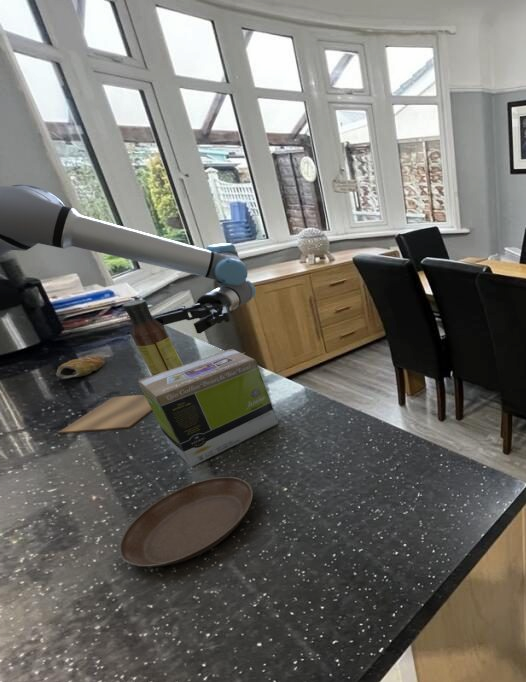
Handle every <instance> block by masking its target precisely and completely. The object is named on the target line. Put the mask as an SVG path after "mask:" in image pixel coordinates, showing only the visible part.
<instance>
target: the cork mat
mask: <svg viewBox="0 0 526 682" xmlns="http://www.w3.org/2000/svg"><path fill="white" fill-rule="evenodd" d="M152 412H153V411H152V409H151V407H150V405H149V403H148V401H147V399H146V397H145V395H144V394H135V395H123V396H121V395H120V396H112V397H111V398H109V399H108V400H106V401H105V402H102V404H100V405H98V406H96V407H95V408H94V409H92V410H91V411H89V412H87V413H86V414H84V415H83V416H81V417H80V418H78V419H76V420H75V421H73V422H72V423H70V424H69V425H67V426H65V427H64V428H63V429H61V430H59V431H58V434H70V433H71V434H72V433H85V432H98V431H111V430H113V431H114V430H123V429H130V428H132V427H133V426H134V425H136V424H137V423H138V422H140V421H141V420H143V418H145V417H147V415H149V414H150V413H152Z"/></svg>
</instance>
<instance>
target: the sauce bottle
mask: <svg viewBox="0 0 526 682" xmlns="http://www.w3.org/2000/svg"><path fill="white" fill-rule="evenodd" d="M122 308H123V310H124V311H125V312H126V313H127V315H128V317H129V319H130V322H131V327H130V331H129V332H130V336H131V338H132V339H133V341H134V343H135V346H136V348H137V350H138V352H139V353H140V356H141V357H142V359H143V361H144V363H145V364H146V367H147V369H148V371H149V372H150V374H151V375H150V376H154V375H157V374H159V373H162V372H165V371H168V370H171V369H174V368H177V367H179V366H182V365H184V364H183V361H182V360H181V357H180V356H179V354H178V351H177V350H176V347H175V345H174V343H173V341H172V339H171V337H170V335H169V334H168V332H167V330H166V328H165V325H162V324H161V323H159V322H158V321H157V320H155V319H154V318H153V316H152V315H153V314H152V313H151V312H150V308H149V305H148V303H147V300H145V299H138V300H131V301H129V302H125V303H123V304H122Z"/></svg>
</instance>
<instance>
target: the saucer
mask: <svg viewBox="0 0 526 682" xmlns="http://www.w3.org/2000/svg"><path fill="white" fill-rule="evenodd" d="M253 497H254V492H253V489H252V486H251V485H250V483H249V482H247V481H246V480H244V479H243V478H240V477H235V476H218V477H212V478H211V477H210V478H207V479H203V480H199V481H197V482H193V483H190V484H188V485H185V486H182V487H180V488H179V489H176V490H174V491H173V492H171V493H168V494H166V495H165V496H163V497H162V498H160V499H159V500H157V501H156V502H154V503H153V504H151V505H150V506H149V507H147V508H146V509H145V510H143V511H142V512H141V513H140V514H139V515H138V516H137V517H135V519H134V520H133V521H132V522H131V523H130V525H129V526H128V527H127V529H126V530H125V531H124V532H123V534H122V537H121V538H120V542H119V546H118V554H119V556H120V558H121V560H122V561H124V562H125V563H126V564H129V565H132V566H137V567H144V568H156V567H157V568H158V567H166V566H170V565H171V566H172V565H176V564H179V563H182V562H186V561H188V560H191V559H193V558H195V557H196V558H197V557H198V556H200V555H202V554H204V553H206V552H207V551H209V550H211V549H212V548H214V547H216V546H217V545H218V544H219V543H221V542H222V541H224V540H225V539H226V538H227V537H228V536H229V535H231V533H232V532H233V531H234V530H235V529H236V528H237V527H238V526H239V525H240V523H241V522H242V521H243V519H244V518H245V516H246V515H247V514H248V511H249V510H250V507H251V505H252V501H253Z"/></svg>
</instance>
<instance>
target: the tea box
mask: <svg viewBox="0 0 526 682" xmlns="http://www.w3.org/2000/svg"><path fill="white" fill-rule="evenodd" d="M137 383H138V386H139V387H140V389H141V391H142V394H143V395H145V397H146V399H147V401H148V403H149V405H150V407H151V409H152V411H151V412H153V415H154V417H155V419H156V421H157V424H158V425H159V428H160V429H161V432H162V433H163V434H164V437H165V438H166V441H167V442H168V444H169V446H170V447H171V448H172V449H173V450H174V451H175V452H176V453H177V454H178V455H179V456H180V457H181V459H183V460H184V461H185V462H186V464H187V465H189V467H191V468H193V467H194V466H196V465H198V464H200V463H202V462H204V461H207V460H209V459H211V458H212V457H215V456H217V455H218V454H220V453H223V452H225V451H226V450H229V449H230V448H232V447H235V446H237V445H238V444H240V443H243V442H244V441H246V440H249V439H250V438H253V437H254V436H257V435H259V434H260V433H262V432H265V431H266V430H268V429H270V428H272V427H275V426H277V425H278V424H279V421H278V419H277V415H276V412H275V410H274V408H273V407H274V406H273V404H272V402H271V399H270V396H269V393H268V390H267V387H266V385H265V382H264V379H263V376H262V374H261V371H260V367H259V366H258V363H257V360H256V359H255V358H252V357H250V356H248V355H246V354H244V353H242V352H240V351H237V350H235V349H234V348H231V349H227V350H224V351H221V352H219V353H215V354H213V355H210V356H206V357H203V358H201V359H198V360H195V361H192V362H189V363H186V364H183V365H182V366H179V367H177V368H174V369H171V370H168V371H165V372H162V373H159V374H157V375H154V376H152V375H150V376H148V377H145V378H142V379H139V380H137Z"/></svg>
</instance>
